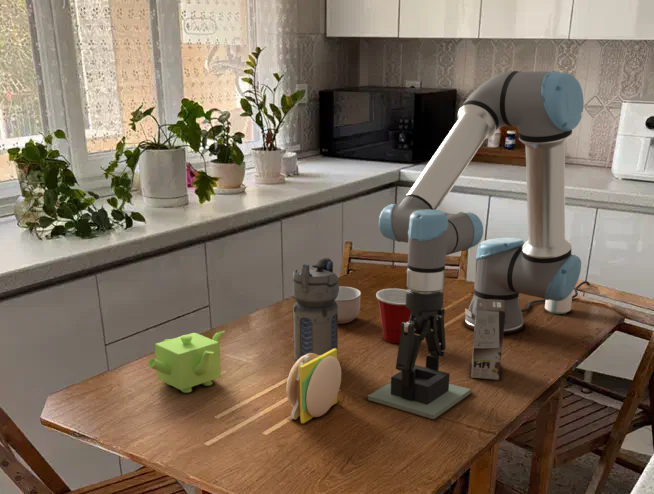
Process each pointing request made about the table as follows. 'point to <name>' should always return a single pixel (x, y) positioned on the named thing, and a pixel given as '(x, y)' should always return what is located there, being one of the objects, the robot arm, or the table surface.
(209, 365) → the kettle
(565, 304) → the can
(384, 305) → the plastic cup
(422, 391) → the dark gray square ring
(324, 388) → the hamburger
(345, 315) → the teacup
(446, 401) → the base pad
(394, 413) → the table surface
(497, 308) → the coffee box
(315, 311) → the beverage bottle
